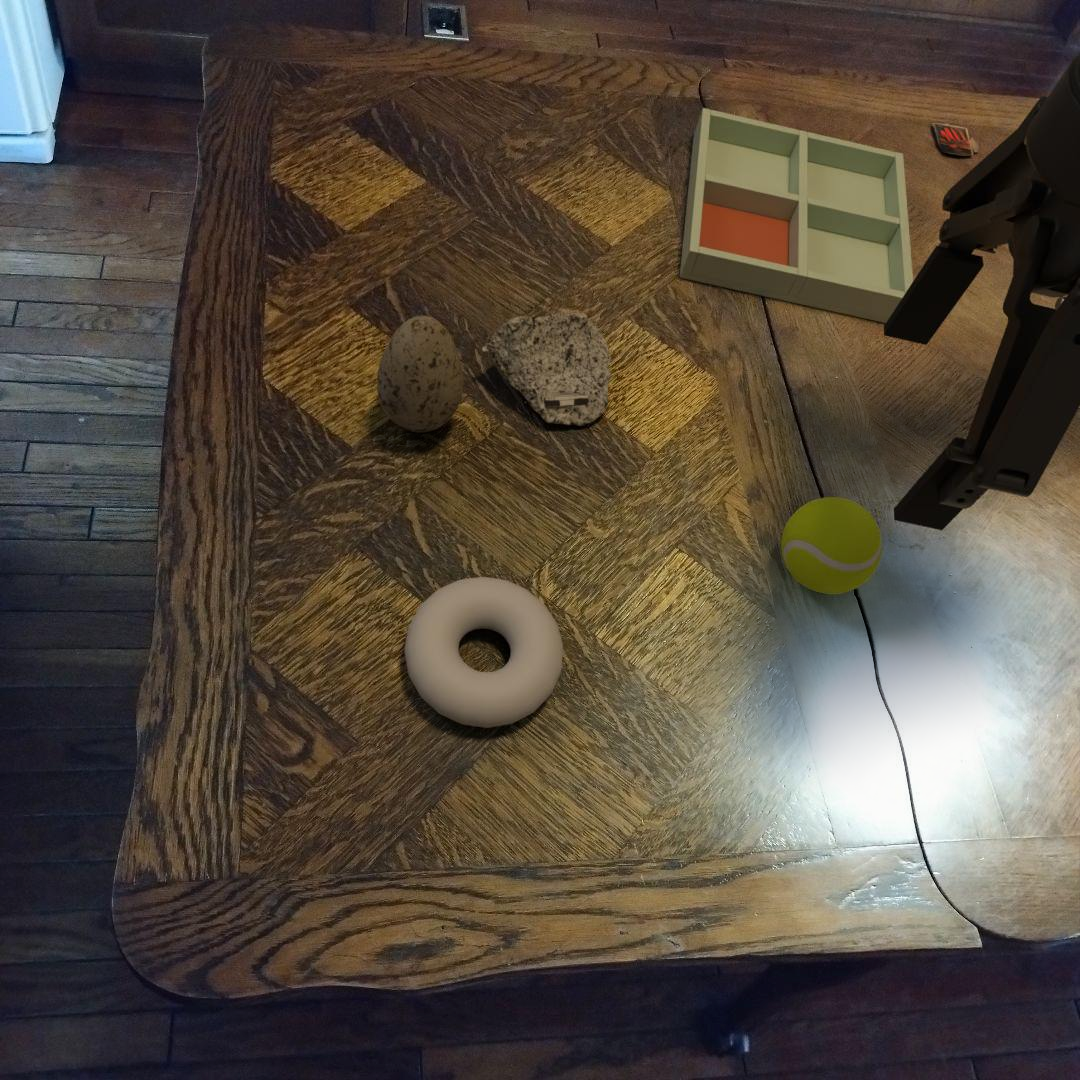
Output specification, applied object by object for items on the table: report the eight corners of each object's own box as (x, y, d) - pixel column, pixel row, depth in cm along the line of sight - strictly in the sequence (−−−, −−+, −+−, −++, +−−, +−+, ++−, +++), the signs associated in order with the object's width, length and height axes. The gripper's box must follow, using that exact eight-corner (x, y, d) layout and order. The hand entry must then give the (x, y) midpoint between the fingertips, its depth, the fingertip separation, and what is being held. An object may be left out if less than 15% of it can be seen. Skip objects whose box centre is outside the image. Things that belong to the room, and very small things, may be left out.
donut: (429, 575, 66) (382, 709, 60) (433, 548, 63) (383, 687, 58) (573, 617, 66) (538, 755, 60) (583, 592, 63) (547, 735, 58)
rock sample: (548, 434, 68) (550, 304, 67) (476, 429, 74) (476, 308, 72) (644, 429, 75) (647, 312, 74) (571, 425, 81) (573, 315, 79)
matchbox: (944, 158, 98) (946, 154, 98) (923, 124, 100) (925, 120, 100) (984, 156, 99) (986, 152, 99) (962, 123, 102) (964, 119, 101)
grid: (888, 180, 95) (903, 153, 92) (898, 326, 85) (915, 300, 82) (693, 135, 94) (702, 107, 91) (679, 277, 84) (689, 250, 81)
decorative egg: (434, 463, 70) (443, 372, 62) (361, 428, 71) (360, 333, 62) (472, 407, 73) (486, 312, 65) (401, 374, 74) (406, 276, 66)
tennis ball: (875, 576, 71) (919, 528, 65) (818, 628, 68) (860, 583, 62) (806, 513, 73) (843, 461, 67) (748, 561, 70) (782, 511, 64)
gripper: (1038, -90, 45) (844, 258, 63) (1132, 295, 32) (853, 596, 50) (1192, -51, 45) (956, 284, 63) (1348, 345, 32) (994, 626, 50)
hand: (910, 422), depth 57 cm, fingers open, 13 cm apart
